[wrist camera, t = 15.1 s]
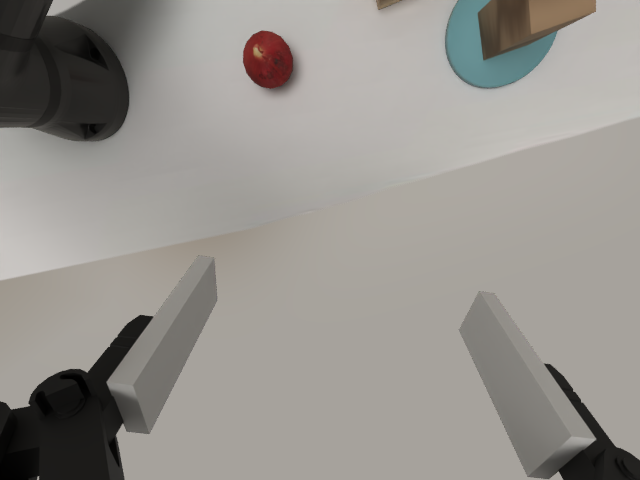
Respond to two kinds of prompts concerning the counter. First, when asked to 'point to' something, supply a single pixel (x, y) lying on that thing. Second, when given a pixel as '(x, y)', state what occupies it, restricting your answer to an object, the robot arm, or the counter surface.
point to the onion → (267, 59)
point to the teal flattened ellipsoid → (468, 50)
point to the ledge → (385, 3)
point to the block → (526, 22)
